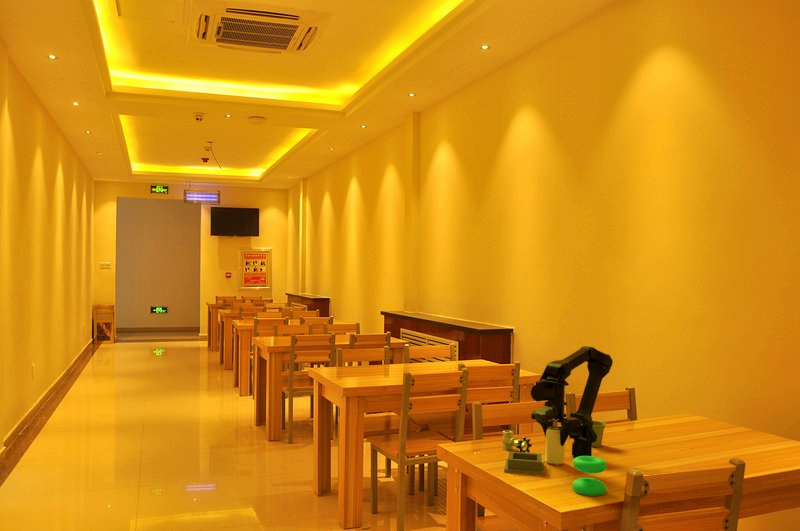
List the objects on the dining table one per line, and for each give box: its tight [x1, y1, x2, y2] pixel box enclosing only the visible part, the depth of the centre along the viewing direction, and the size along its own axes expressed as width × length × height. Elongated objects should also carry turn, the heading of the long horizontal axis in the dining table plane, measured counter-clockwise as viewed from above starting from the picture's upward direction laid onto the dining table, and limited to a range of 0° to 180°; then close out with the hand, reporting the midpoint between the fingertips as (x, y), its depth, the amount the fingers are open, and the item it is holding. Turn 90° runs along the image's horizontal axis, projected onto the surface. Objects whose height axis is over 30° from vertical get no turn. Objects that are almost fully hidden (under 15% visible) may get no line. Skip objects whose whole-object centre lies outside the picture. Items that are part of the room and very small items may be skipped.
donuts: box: [571, 455, 608, 497], centre depth 211 cm, size 10×10×10 cm
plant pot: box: [592, 420, 607, 448], centre depth 270 cm, size 9×9×9 cm
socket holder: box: [503, 450, 545, 476], centre depth 234 cm, size 13×13×4 cm
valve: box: [501, 430, 533, 453], centre depth 258 cm, size 7×7×12 cm
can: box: [544, 425, 566, 466], centre depth 242 cm, size 6×6×12 cm
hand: (555, 443), depth 242 cm, fingers closed on can, 6 cm apart
